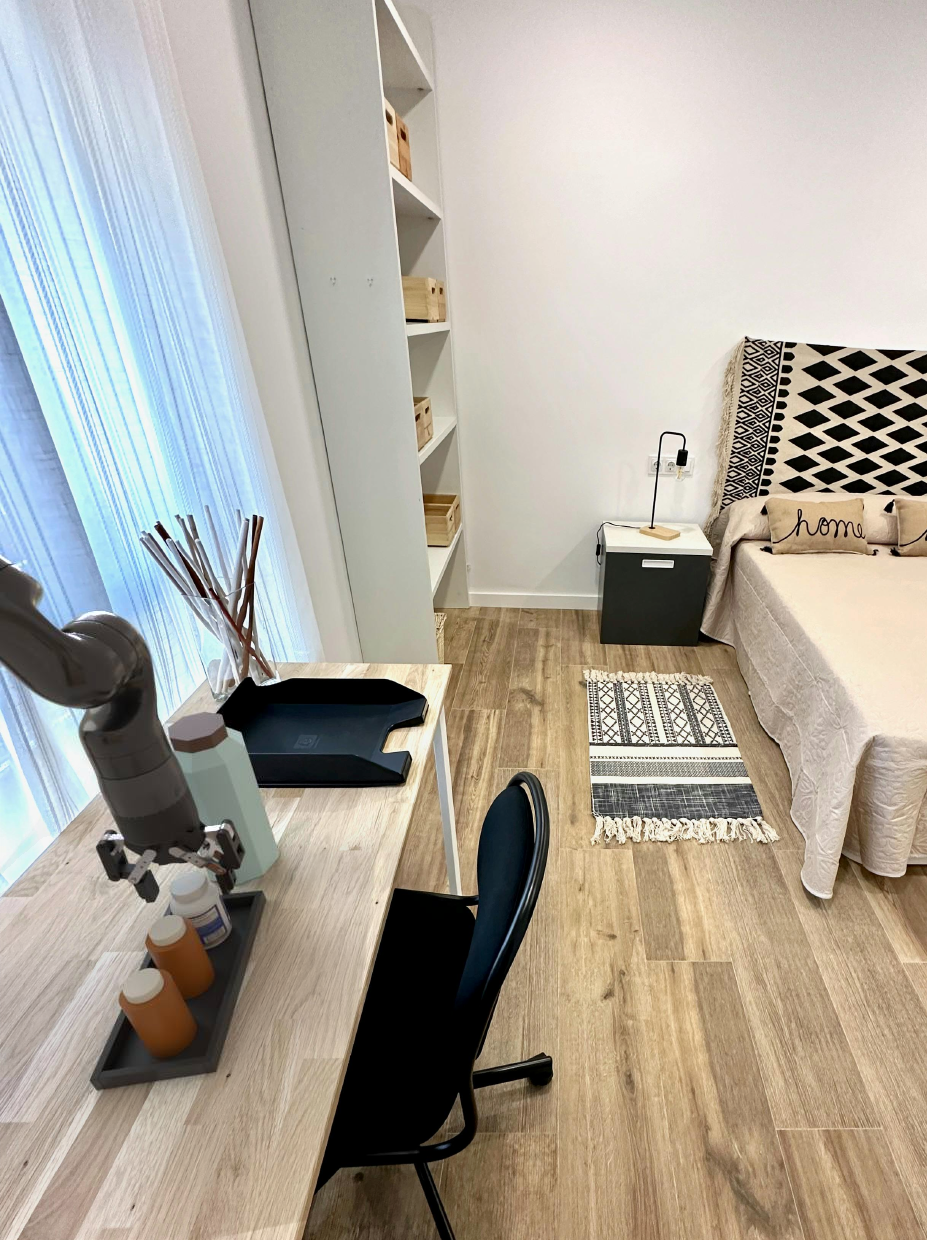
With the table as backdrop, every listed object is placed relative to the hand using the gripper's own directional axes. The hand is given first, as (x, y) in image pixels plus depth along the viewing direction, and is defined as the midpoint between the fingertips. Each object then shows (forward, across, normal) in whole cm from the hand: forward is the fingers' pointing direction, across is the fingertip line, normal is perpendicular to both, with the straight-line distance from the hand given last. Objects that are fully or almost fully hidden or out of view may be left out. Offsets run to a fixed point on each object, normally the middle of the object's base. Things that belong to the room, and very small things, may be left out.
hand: (191, 893), depth 78 cm
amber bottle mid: (+8, 0, +7) cm, 10 cm away
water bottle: (+9, -1, -13) cm, 16 cm away
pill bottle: (+8, 0, 0) cm, 8 cm away
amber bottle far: (+8, 0, +14) cm, 16 cm away
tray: (+9, 0, +7) cm, 11 cm away
